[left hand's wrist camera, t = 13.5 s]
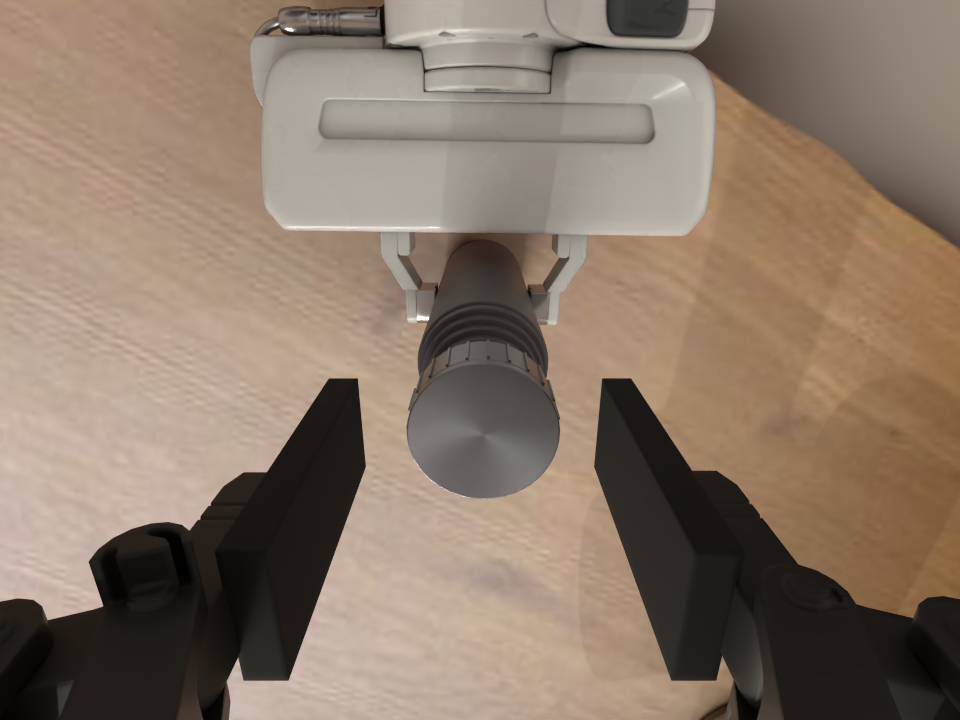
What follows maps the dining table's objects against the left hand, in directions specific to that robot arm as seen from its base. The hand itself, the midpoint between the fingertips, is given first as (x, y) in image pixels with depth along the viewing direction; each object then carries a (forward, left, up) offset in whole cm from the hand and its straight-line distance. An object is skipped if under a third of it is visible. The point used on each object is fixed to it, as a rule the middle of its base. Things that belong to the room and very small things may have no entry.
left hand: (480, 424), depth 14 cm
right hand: (-1, +1, -14) cm, 14 cm away
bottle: (0, 0, -20) cm, 20 cm away
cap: (0, 0, 0) cm, 0 cm away
